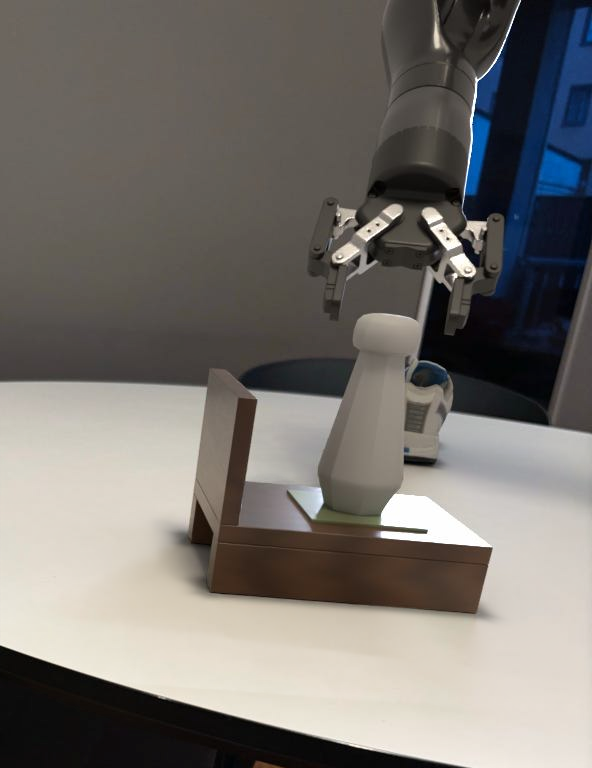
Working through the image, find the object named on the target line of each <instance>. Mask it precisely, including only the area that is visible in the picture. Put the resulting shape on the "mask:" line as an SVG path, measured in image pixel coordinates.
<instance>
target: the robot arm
mask: <svg viewBox="0 0 592 768" xmlns="http://www.w3.org/2000/svg"><path fill="white" fill-rule="evenodd" d="M521 1H522V0H387V3H386V5H385V7H384V11H383V16H382V20H381V29H380V45H381V46H380V47H381V55H382V60H383V66H384V72H385V78H386V83H387V88H388V91H389V93H388V97H387V103H386V108H385V112H384V118H383V121H382V123H381V126H380V129H379V132H378V135H377V137H376V143H375V147H374V152H373V155H372V159H371V167H370V172H369V176H368V182H367V186H366V192H365V198H364V201H363V203H361V204H360V206H359V207H358V208H357V209H354V208H347V207H346V208H345V207H339V204H340V202H339V200H338V199H337V198H336V197H333V196H330V197H326V198H325V199H324V200H323V202H322V205H321V208H320V212H319V215H318V217H317V221H316V225H315V227H314V230H313V235H312V238H311V241H310V243H309V246H308V247H309V248H308V258H307V268H306V272H307V275H308V276H310V277H311V278H318V277H320V276H321V277H323V278H324V279H325V280H326V282H325V288H324V292H323V297H322V299H323V300H322V310H323V313H324V314H329V319H328V320H329V321H330V322H331V321H332V322H339V321H340V315H341V310H342V306H343V300H344V296H345V290H346V284H347V281H348V280H350V279H351V278H353V277H354V276H355V275H359V276H360V275H362V274H364V273H365V272H366V271H368V270H369V269H370V268H372V267H373V266H375V265H376V264H377V263H380V264H381V265H380V266H381V267H385V268H397V267H398V268H399V267H402V268H405V269H410V270H413V271H423V268H426V269H427V270H428V271H429V273H430V274H431V275H432V277H433V278H434V279H435V280H436V282H437V283H439V284H442V283H443V285H444V286H445V287H446V288H447V290H448V291H449V292H450V295H449V299H448V305H447V312H446V317H445V318H446V319H445V325H444V330H443V334H444V335H447V336H454V335H455V333H456V330H457V329H459V330H463V329H464V327H465V326H466V324H467V320H468V318H469V313H470V312H471V311H470V310H471V303H472V296H473V295H477V294H480V295H481V296H482V297H490V296H493V295H494V294H495V292H496V288H497V284H498V280H499V278H500V275H501V273H502V270H503V266H504V265H503V263H504V240H505V238H504V237H505V216H504V215H503V214H502V213H498V212H494V213H491V214H489V215H488V217H487V220H486V221H481V220H467V217H466V215H465V214H464V211H463V208H464V207H463V206H464V200H465V193H466V186H467V180H468V173H469V169H470V160H471V153H472V145H473V125H472V124H473V117H474V112H475V104H476V99H477V89H478V81H479V80H481V79H482V78H483V77H484V76H485V75H486V74H487V73H488V72H489V71H490V70H491V68H492V67H493V66H494V64H495V63H496V62H497V59H498V58H499V56H500V54H501V51H502V50H503V48H504V45H505V43H506V40H507V37H508V35H509V33H510V30H511V27H512V24H513V21H514V19H515V16H516V13H517V11H518V9H519V7H520V3H521ZM349 228H353V231H354V234H352V236H351V238H350V240H349V241H348V242H347V243H345V244H344V245H342V246H340V248H338V249H336V250H335V251H334V252H332V251H330V248H331V246H332V241H333V240H338V239H339V237H340V236H342V235H343V233H344V232H345V230H347V229H349ZM464 239H466V240H468V241H469V242H470V243H471V247H472V248H473V250H474V253H475V254H476V255H479V266H478V267H476V266H475V265H474V264H473V263H472V262H471V260H470V259H469V258H468V257H467V255H466V254H465V251H464V247H463V244H462V243H461V242H463V240H464Z"/></svg>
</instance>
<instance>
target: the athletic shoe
mask: <svg viewBox="0 0 592 768" xmlns="http://www.w3.org/2000/svg"><path fill="white" fill-rule="evenodd" d="M453 400H454V384H453V381H452V379H451V376H450V375H449V374H447V370H446V368H444V367H443V366H442V365H439V363H435V362H432V361H430V360H419V359H418V358H417V357H416V356H415V357H413V358H412V359H410V364H409V366H407V367H405V394H404V461H406V462H418V463H436V462H437V461H438V458H439V455H440V454H439V453H440V434H439V433H440V431H441V428H442V427H443V425H444V423H445V421H446V419H447V416H449V415H448V414H449V413H450V412H451V409H452V406H453Z"/></svg>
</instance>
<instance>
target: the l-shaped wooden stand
mask: <svg viewBox="0 0 592 768" xmlns="http://www.w3.org/2000/svg"><path fill="white" fill-rule="evenodd" d="M207 378H208V379H207V385H206V386H207V387H206V393H205V395H206V396H205V400H204V401H205V402H204V409H203V415H202V416H203V417H202V424H201V432H200V440H199V446H198V454H197V461H196V462H197V463H196V469H195V478H194V486H193V493H192V500H191V507H190V515H189V523H188V531H187V537H188V539H189V541H190V543H193V544H205V545H211V546H210V547H211V548H210V555H209V562H208V569H207V575H206V584H207V586H208V589H209V591H210V593H218V594H231V595H242V596H243V595H244V596H254V597H255V596H256V597H269V598H282V599H294V600H295V599H296V600H307V601H319V602H332V603H345V604H357V605H369V606H383V607H395V608H407V609H422V610H433V611H434V610H435V611H446V612H458V613H470V614H471V613H472V614H477V613H478V609H479V606H480V605H479V604H480V601H481V597H482V593H483V589H484V585H485V582H486V581H485V580H486V577H487V574H488V569H489V564H490V561H491V558H492V552H493V546H492V545H490V544H489V543H488V542H486V541H485V540H483V539H482V538H481V537H480V536H478V535H477V534H476V533H475V532H473V531H472V530H471V529H469V528H468V527H467V526H465V525H464V524H463V523H462V522H460V521H458V519H457V518H455V517H453V516H452V515H451V514H450V513H448V512H447V511H445V510H444V509H443V508H442V507H440V506H439V505H438V504H437V503H435V502H434V501H432V500H431V499H430V498H429V497H427V496H420V495H419V496H417V495H407V494H398V493H396V494H395V495H394V496H393V497H392V499H391V500H390V501H389V502H388V504H387V506H386V507H385V509H384V510H383V512H382V513H381V515H355V514H351V513H346V512H341V511H337V510H333V509H332V508H330V507H329V506H328V505H326V504H325V503H324V501H323V496H322V492H321V487H317V486H305V485H294V484H282V483H272V482H260V481H250V480H249V481H248V480H246V478H247V472H248V465H249V460H250V459H249V458H250V452H251V446H252V439H253V434H254V433H253V432H254V425H255V419H256V414H257V413H256V412H257V406H258V398H257V397H256V396H255V395H254V394H253V393H252V392H251V391H249V389H247V388H246V387H245V386H244V385H243V384H242V383H241V382H240V381H239V380H238V379H236V377H234V376H233V375H232V374H231V373H230V372H229V371H228V370H227V369H225V368H224V369H223V368H216V367H215V368H213V367H210V368H209V373H208V377H207Z"/></svg>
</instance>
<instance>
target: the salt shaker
mask: <svg viewBox="0 0 592 768" xmlns="http://www.w3.org/2000/svg"><path fill="white" fill-rule="evenodd" d="M421 340H422V327H421V324H420V323H419V322H418V320H416V319H414V318H412V317H409V316H406V315H405V316H404V315H400V314H392V313H382V312H376V313H375V312H371V313H367V314H366V313H365V314H363V315H362V316H360V317H359V318H358V319H357V321H356V323H355V326H354V328H353V334H352V345H353V347H354V348H356V349H357V350H359V352H358V354H357V358H356V361H355V364H354V366H353V369H352V371H351V374H350V378H349V380H348V382H347V386H346V388H345V391H344V394H343V396H342V400H341V402H340V404H339V408H338V410H337V413H336V415H335V418H334V421H333V424H332V427H331V429H330V432H329V436H328V437H327V441H326V444H325V446H324V449H323V451H322V454H321V458H320V459H319V462H318V465H317V478H318V482H319V486H320V487H319V488H321V492H322V496H323V501H324V503H325V504H326V505H328V506H329V507H330V508H332V509H333V510H337V511H341V512H346V513H351V514H355V515H381V513H382V512H383V510H384V509H385V507H386V506H387V504H388V502H389V501H390V500H391V499H392V497H393V496H394V495H395V494H397V492H398V491H400V489H401V487H402V485H403V482H404V465H405V462H404V461H405V460H404V394H405V369H406V357H409V356H411V355H415V354H417V352H418V350H419V348H420V344H421Z"/></svg>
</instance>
